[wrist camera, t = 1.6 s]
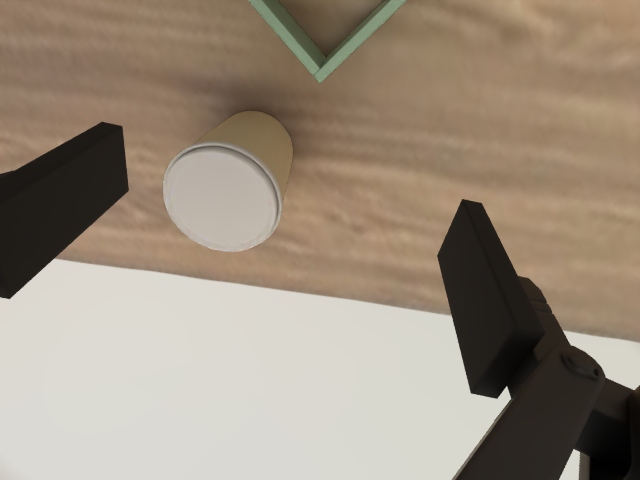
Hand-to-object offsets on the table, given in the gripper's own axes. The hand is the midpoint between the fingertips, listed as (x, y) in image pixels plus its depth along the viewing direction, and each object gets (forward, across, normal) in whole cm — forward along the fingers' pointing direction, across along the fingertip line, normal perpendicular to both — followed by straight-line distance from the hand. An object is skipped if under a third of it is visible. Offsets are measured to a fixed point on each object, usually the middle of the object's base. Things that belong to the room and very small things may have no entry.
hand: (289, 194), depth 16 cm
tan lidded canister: (+24, -6, -9) cm, 27 cm away
